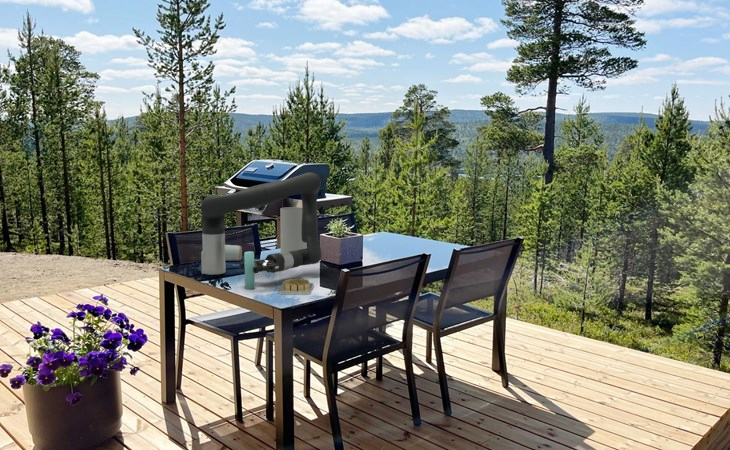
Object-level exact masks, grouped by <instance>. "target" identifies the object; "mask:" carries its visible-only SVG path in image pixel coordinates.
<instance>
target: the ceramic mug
mask: <svg viewBox="0 0 730 450" xmlns="http://www.w3.org/2000/svg"><path fill="white" fill-rule="evenodd" d="M242 257H243V247H242V246H241V245H236V244H234V245H232V244H225V262H238V261H241V260H242Z"/></svg>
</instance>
